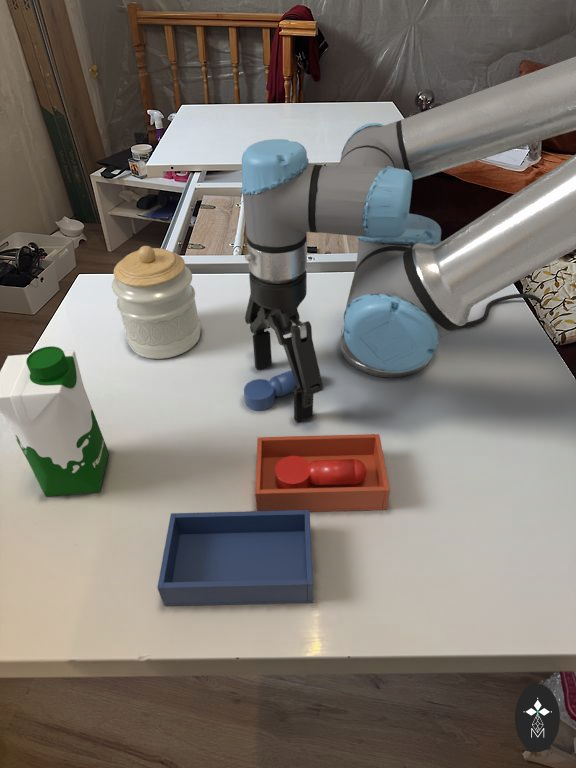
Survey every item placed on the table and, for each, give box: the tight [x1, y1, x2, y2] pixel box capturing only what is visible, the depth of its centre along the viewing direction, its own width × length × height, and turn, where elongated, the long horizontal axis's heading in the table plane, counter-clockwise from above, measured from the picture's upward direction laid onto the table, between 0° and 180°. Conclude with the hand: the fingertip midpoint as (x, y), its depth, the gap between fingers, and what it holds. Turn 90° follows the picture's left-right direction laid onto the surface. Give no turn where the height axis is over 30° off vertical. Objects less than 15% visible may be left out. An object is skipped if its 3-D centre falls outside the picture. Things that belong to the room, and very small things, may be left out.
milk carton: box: [0, 345, 110, 498], centre depth 65 cm, size 9×9×20 cm
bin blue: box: [156, 510, 314, 607], centre depth 60 cm, size 16×9×4 cm, turn 91°
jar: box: [111, 245, 202, 360], centre depth 89 cm, size 13×13×18 cm
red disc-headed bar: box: [275, 456, 366, 489], centre depth 68 cm, size 12×5×3 cm, turn 91°
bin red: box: [254, 433, 391, 513], centre depth 68 cm, size 16×9×4 cm, turn 91°
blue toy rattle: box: [243, 369, 296, 412], centre depth 82 cm, size 12×5×3 cm, turn 118°
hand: (282, 390), depth 83 cm, fingers open, 13 cm apart
